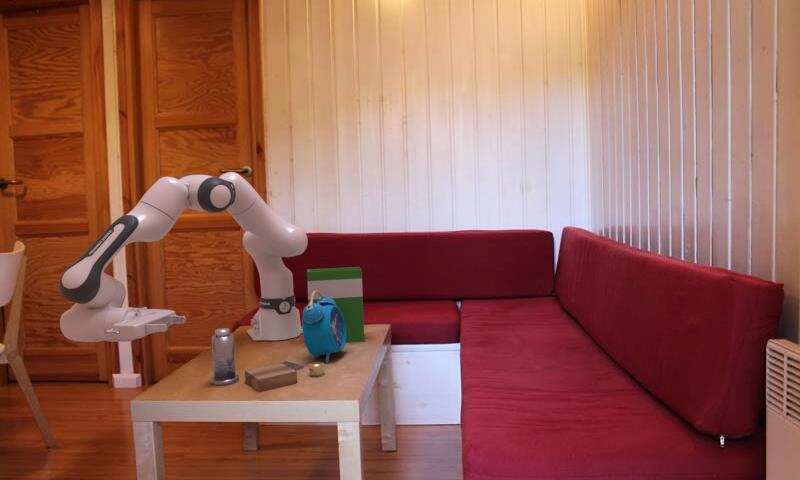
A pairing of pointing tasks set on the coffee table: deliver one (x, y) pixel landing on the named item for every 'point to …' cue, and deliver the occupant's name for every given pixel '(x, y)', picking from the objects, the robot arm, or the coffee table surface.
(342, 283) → the hardback book
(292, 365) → the steel plate
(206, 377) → the coffee table surface
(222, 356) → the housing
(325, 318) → the alarm clock
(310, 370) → the brass knob
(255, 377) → the stand
